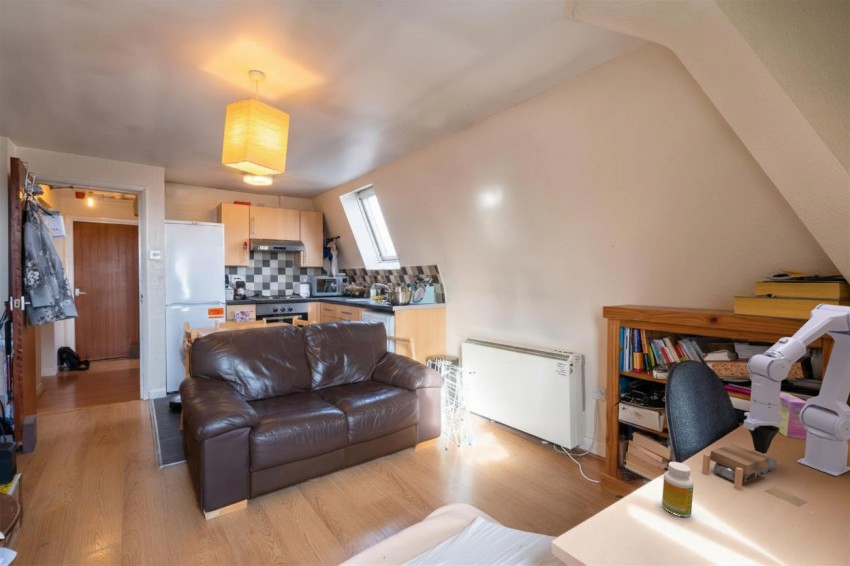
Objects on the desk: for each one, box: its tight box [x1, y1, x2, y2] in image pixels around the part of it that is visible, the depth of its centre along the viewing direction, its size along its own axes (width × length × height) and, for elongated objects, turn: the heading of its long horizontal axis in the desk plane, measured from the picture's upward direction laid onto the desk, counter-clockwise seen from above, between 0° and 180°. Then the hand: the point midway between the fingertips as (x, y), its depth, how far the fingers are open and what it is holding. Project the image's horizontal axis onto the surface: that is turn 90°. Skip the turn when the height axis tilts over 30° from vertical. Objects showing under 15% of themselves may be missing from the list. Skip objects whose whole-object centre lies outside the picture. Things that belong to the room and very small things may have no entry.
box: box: [773, 391, 807, 440], centre depth 130 cm, size 10×6×12 cm, turn 168°
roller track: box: [713, 450, 809, 507], centre depth 98 cm, size 19×16×3 cm
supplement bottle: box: [661, 461, 694, 518], centre depth 85 cm, size 5×5×10 cm
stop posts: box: [701, 453, 743, 491], centre depth 98 cm, size 1×8×5 cm, turn 26°
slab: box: [710, 444, 769, 475], centre depth 101 cm, size 10×8×2 cm
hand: (760, 451), depth 104 cm, fingers closed
